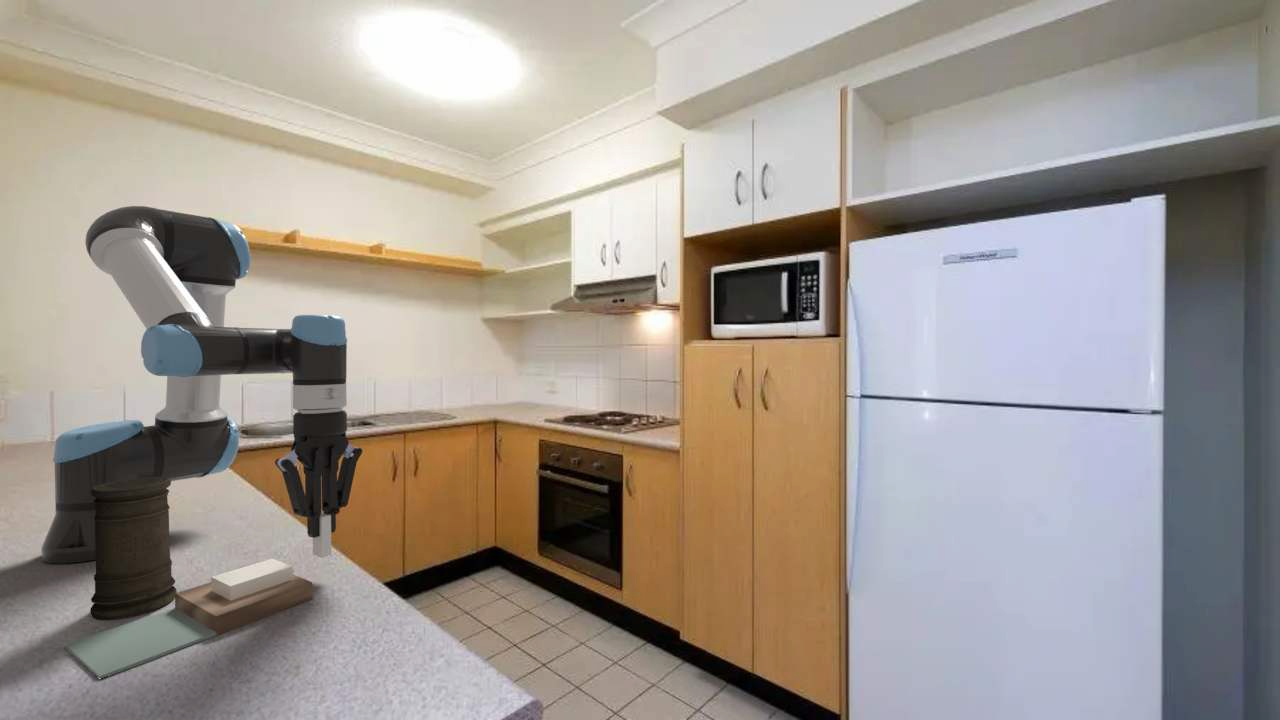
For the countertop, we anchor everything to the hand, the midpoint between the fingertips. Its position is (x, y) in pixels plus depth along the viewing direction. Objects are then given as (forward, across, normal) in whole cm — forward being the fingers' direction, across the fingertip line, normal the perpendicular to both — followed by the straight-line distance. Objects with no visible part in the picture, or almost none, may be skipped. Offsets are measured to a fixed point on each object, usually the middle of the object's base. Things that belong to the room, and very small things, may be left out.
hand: (322, 554), depth 87 cm
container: (+4, -19, +14) cm, 24 cm away
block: (+1, -10, 0) cm, 10 cm away
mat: (+4, -22, 0) cm, 23 cm away
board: (+4, -11, 0) cm, 12 cm away
